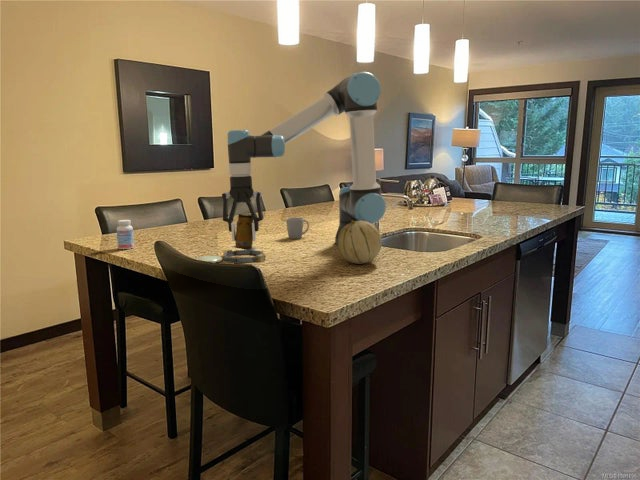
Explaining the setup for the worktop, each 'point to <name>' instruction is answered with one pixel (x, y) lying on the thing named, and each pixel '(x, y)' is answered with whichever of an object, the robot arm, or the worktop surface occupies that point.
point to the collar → (228, 253)
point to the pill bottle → (125, 235)
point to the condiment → (244, 232)
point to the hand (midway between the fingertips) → (244, 240)
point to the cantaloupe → (359, 242)
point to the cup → (296, 227)
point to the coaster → (210, 258)
